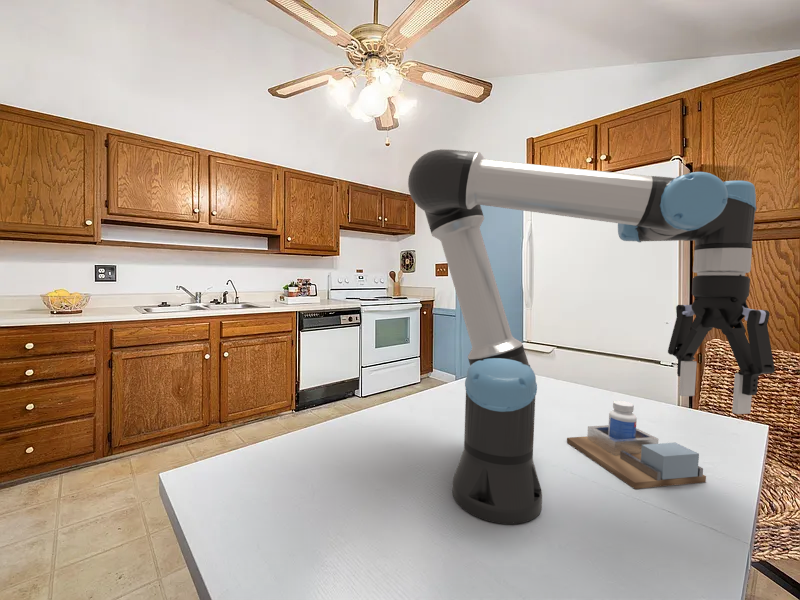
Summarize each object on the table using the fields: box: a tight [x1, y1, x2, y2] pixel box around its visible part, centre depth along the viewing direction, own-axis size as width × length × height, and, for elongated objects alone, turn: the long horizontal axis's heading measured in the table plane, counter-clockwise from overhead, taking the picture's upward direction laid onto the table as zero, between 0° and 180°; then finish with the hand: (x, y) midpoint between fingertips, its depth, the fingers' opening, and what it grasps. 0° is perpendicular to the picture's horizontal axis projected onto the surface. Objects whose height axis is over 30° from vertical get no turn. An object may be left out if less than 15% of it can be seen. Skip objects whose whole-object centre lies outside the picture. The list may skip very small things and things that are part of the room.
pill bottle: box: [608, 400, 638, 440], centre depth 84 cm, size 6×5×10 cm
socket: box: [586, 424, 659, 455], centre depth 85 cm, size 11×8×3 cm
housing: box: [641, 442, 700, 480], centre depth 73 cm, size 8×5×4 cm, turn 101°
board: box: [566, 436, 707, 490], centre depth 80 cm, size 16×20×1 cm
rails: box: [620, 450, 704, 481], centre depth 75 cm, size 10×9×2 cm
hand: (712, 403), depth 65 cm, fingers open, 9 cm apart
